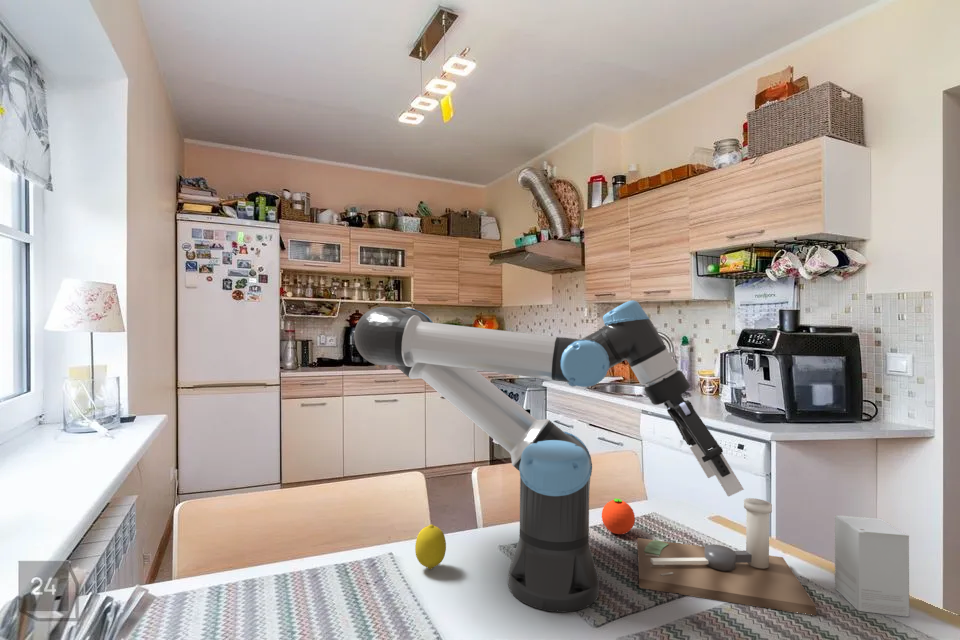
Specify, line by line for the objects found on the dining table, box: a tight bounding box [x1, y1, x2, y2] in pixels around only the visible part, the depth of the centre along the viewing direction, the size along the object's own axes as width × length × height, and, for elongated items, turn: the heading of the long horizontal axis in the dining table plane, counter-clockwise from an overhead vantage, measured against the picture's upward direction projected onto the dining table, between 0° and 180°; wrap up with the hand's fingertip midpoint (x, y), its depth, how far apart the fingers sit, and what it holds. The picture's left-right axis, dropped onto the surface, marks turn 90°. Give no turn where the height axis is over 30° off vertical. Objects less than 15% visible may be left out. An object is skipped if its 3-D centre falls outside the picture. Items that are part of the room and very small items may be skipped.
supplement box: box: [834, 515, 910, 617], centre depth 80 cm, size 7×7×13 cm
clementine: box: [601, 498, 636, 535], centre depth 106 cm, size 8×7×7 cm
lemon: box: [414, 523, 447, 570], centre depth 88 cm, size 6×6×8 cm
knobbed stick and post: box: [651, 497, 773, 571], centre depth 88 cm, size 22×5×11 cm, turn 93°
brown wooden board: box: [636, 537, 817, 616], centre depth 87 cm, size 26×17×2 cm, turn 73°
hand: (724, 483), depth 87 cm, fingers open, 13 cm apart
